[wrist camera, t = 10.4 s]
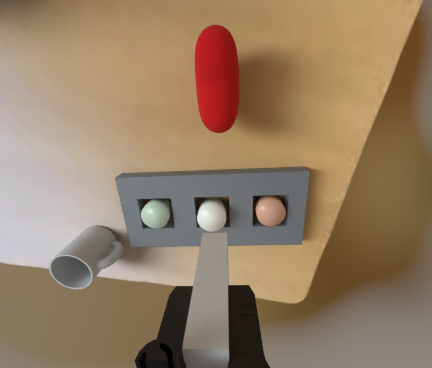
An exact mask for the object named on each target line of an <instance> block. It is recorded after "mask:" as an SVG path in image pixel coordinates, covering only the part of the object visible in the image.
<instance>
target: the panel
mask: <svg viewBox="0 0 432 368" xmlns="http://www.w3.org/2000/svg"><path fill="white" fill-rule="evenodd" d="M309 176H310V171H309V170H308V169H307V168H305V167H285V168H257V169H229V170H202V171H174V172H147V173H122V174H120V175H119V176H117V177H116V178H115V180H116V184H117V189H118V193H119V197H120V202H121V206H122V211H123V215H124V219H125V224H126V228H127V232H128V237H129V241H130V245H131V247H178V246H200V245H201V239H202V234H203V233H227V244H228V246H241V245H302V240H303V231H304V222H305V212H306V203H307V194H308V185H309ZM262 195H285V198H284V208H285V210H286V215H285V218H284V220H283V221H282V222H281V223H279V224H278V225H275V226H266V225H263V224H262V223H261V222H260V221H259V220H258V219H253V196H262ZM227 196H229V213H230V220H226V223H225V225H224V226H223V228H221V229H220V230H218V231H214V232H210V231H206V230H204V229H203V228H201V227H200V225H199V224H198V221H197V216H198V210H197V199H196V197H227ZM158 198H171V203H172V210H173V218H174V221H168V222H167V224H166V225H165V226H164V227H162V228H151V227H149V226H147V225H146V224H145V223H144V222H143V220H142V218H141V212H142V209H143V208H144V207H145V206H144V201H143V199H158Z"/></svg>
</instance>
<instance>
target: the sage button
mask: <svg viewBox="0 0 432 368" xmlns="http://www.w3.org/2000/svg"><path fill="white" fill-rule="evenodd" d="M171 214H172V205H171V203H170V202H169V201H168V200H167V199H165V198H158V199H151V200H150V201H149V202H148V203H147V204H146V206H145V207H144V208H143V209H142V212H141V218H142V220H143V222H144V223H145V224H146V225H147V226H149V227H151V228H162V227H164V226H165V225H166V224H167V222H168V220H169V218H170V216H171Z"/></svg>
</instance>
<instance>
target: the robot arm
mask: <svg viewBox="0 0 432 368" xmlns="http://www.w3.org/2000/svg"><path fill="white" fill-rule="evenodd" d="M135 363H136V366H137V368H270V367H269V365H268V363H267V361H266V359H265V356H264V352H263V346H262V340H261V333H260V327H259V320H258V314H257V308H256V301H255V294H254V293H253V291H252V289H251V288H250V286H249V285H229V273H228V244H227V233H203V234H202V239H201V245H200V251H199V256H198V262H197V268H196V273H195V279H194V285H193V286H176V287H175V289H174V290H173V291H172V293H171V294H170V295H169V298H168V302H167V305H166V309H165V312H164V317H163V319H162V322H161V326H160V329H159V333H158V336H157V339H156V340H153V341H151V342H149V343H148V344H146V345H145V346H144V347H143V348H142V349H141V350H140V352H139V353H138V355H137V357H136V359H135Z"/></svg>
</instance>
